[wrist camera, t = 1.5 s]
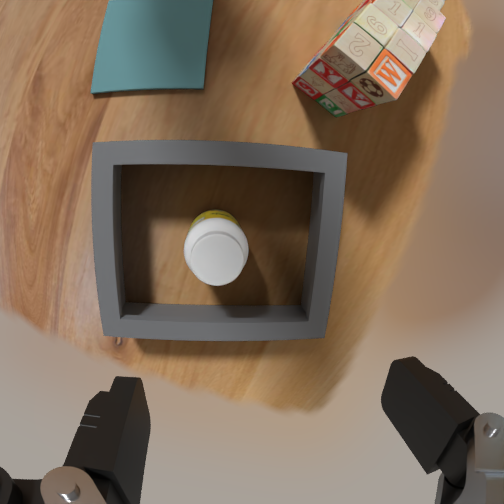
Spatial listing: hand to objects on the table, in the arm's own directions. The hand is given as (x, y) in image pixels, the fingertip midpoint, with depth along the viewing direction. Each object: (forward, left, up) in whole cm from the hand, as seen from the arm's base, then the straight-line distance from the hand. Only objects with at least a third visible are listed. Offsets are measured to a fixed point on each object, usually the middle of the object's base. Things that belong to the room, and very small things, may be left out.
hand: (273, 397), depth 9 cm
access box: (-1, 0, -24) cm, 24 cm away
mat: (-9, +21, -24) cm, 33 cm away
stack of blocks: (+14, +24, -25) cm, 37 cm away
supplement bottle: (-1, 0, -25) cm, 25 cm away
